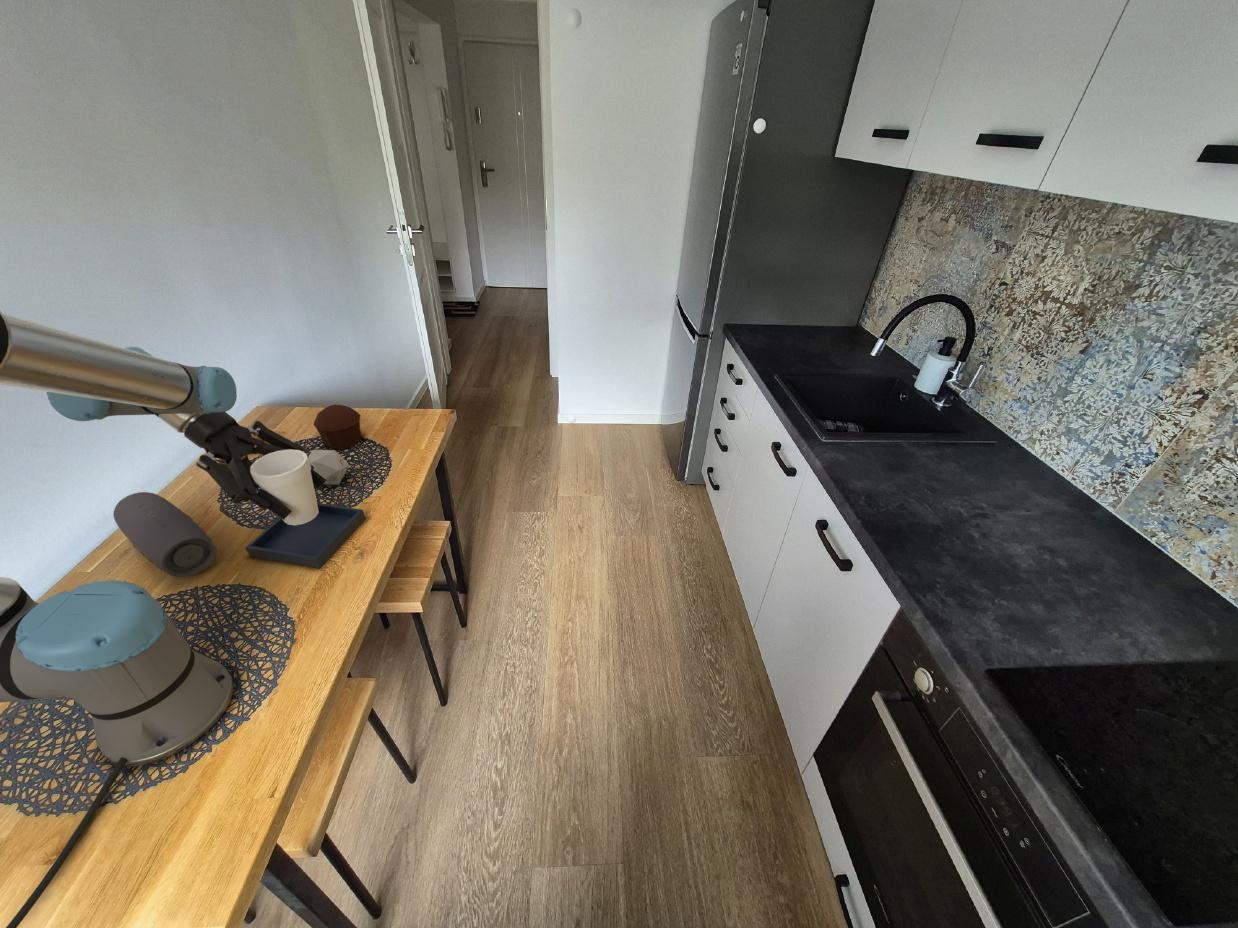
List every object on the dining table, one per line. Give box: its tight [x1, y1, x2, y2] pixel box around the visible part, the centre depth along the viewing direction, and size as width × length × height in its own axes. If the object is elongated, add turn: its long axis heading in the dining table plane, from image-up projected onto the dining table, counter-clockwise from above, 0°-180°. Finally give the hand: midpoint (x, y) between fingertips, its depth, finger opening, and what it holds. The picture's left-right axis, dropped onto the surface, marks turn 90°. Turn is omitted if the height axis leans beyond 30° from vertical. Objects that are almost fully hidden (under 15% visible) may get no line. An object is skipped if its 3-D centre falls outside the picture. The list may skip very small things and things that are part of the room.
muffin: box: [313, 404, 362, 450], centre depth 132 cm, size 12×11×10 cm
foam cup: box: [250, 449, 319, 525], centre depth 97 cm, size 10×9×13 cm
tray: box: [245, 502, 366, 569], centre depth 104 cm, size 15×15×3 cm
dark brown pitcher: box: [215, 455, 257, 487], centre depth 115 cm, size 7×8×10 cm
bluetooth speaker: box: [113, 491, 218, 578], centre depth 96 cm, size 23×9×10 cm, turn 56°
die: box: [307, 449, 350, 486], centre depth 118 cm, size 8×9×10 cm
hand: (305, 499), depth 98 cm, fingers closed on foam cup, 9 cm apart
